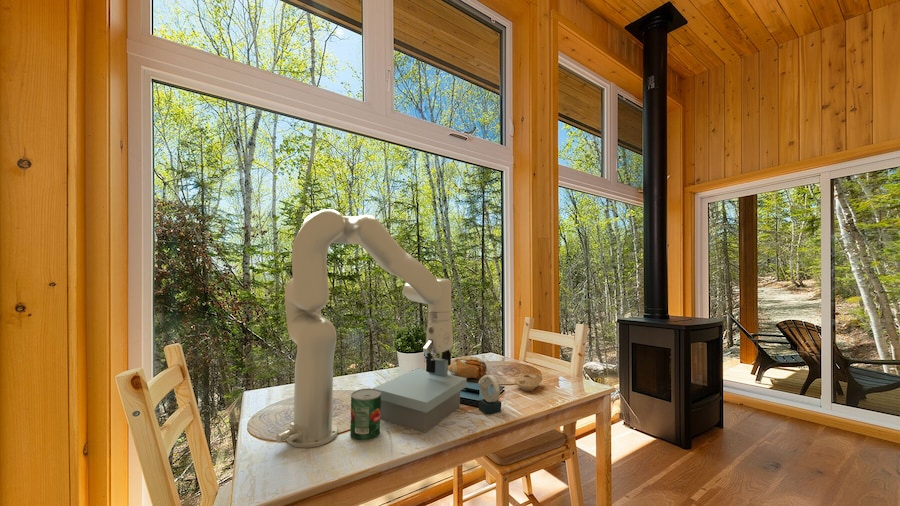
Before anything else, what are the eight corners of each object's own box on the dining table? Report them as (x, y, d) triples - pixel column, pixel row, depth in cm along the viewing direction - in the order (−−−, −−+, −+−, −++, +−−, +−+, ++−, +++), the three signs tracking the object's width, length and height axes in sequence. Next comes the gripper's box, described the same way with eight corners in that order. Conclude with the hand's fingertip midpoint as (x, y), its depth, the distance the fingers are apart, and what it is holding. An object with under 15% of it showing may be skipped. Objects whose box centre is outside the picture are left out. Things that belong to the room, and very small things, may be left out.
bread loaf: (502, 385, 138) (469, 394, 131) (471, 366, 157) (441, 373, 149) (503, 365, 138) (469, 372, 130) (471, 348, 156) (441, 354, 149)
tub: (424, 433, 99) (425, 403, 99) (379, 419, 107) (379, 391, 107) (459, 407, 116) (460, 382, 116) (418, 396, 124) (419, 373, 124)
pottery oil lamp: (550, 386, 136) (551, 372, 132) (527, 403, 130) (527, 389, 127) (533, 372, 142) (533, 359, 139) (510, 387, 136) (510, 374, 133)
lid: (426, 412, 97) (427, 383, 97) (372, 397, 106) (372, 371, 106) (466, 386, 117) (467, 362, 117) (417, 375, 126) (418, 353, 126)
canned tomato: (348, 430, 100) (349, 390, 100) (376, 425, 103) (377, 386, 103) (352, 444, 92) (353, 401, 92) (383, 439, 95) (384, 396, 96)
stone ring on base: (489, 404, 119) (490, 370, 119) (504, 414, 112) (505, 378, 112) (475, 407, 116) (475, 373, 117) (489, 417, 109) (489, 381, 109)
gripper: (434, 321, 111) (434, 377, 110) (462, 313, 125) (461, 363, 125) (414, 318, 114) (413, 373, 114) (443, 311, 129) (442, 360, 129)
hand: (438, 368), depth 120 cm, fingers open, 9 cm apart
